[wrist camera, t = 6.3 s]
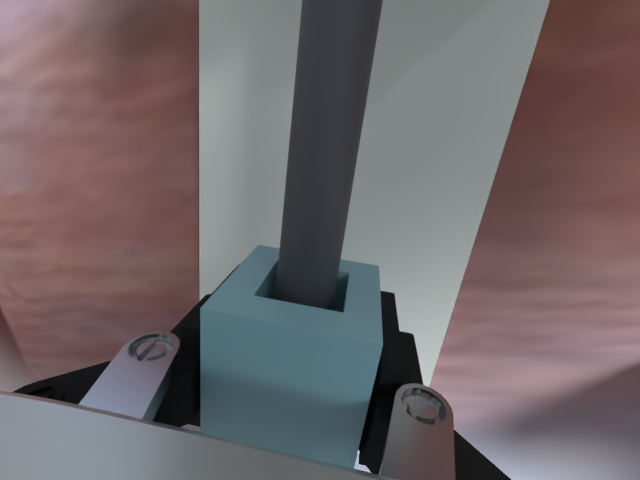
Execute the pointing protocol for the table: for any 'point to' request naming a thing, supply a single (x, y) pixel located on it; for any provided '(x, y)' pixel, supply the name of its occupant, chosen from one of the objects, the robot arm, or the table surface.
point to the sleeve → (290, 361)
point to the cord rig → (357, 142)
